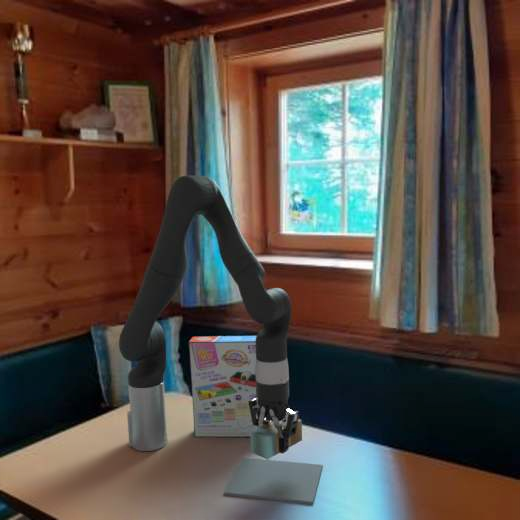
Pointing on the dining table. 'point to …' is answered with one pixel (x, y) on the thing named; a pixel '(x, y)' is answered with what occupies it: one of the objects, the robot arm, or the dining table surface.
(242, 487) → the rubber mat
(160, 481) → the dining table surface
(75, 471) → the dining table surface
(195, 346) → the game box
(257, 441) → the brown and blue block
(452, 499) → the dining table surface
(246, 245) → the robot arm
